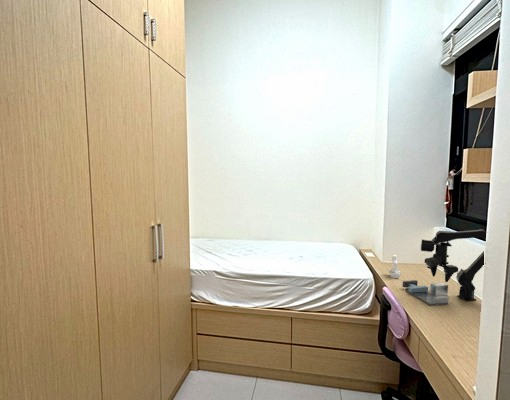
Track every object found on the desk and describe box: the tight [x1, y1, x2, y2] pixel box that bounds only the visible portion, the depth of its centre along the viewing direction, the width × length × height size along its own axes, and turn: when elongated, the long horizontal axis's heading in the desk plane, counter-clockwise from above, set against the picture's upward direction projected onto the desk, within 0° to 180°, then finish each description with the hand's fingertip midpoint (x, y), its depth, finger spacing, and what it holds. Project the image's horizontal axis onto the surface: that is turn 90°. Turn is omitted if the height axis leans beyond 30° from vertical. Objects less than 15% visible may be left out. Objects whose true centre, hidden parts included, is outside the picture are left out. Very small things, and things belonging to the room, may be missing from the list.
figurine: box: [387, 254, 402, 279], centre depth 195 cm, size 7×9×15 cm
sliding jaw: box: [402, 279, 429, 293], centre depth 172 cm, size 11×9×4 cm
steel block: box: [429, 282, 449, 296], centre depth 167 cm, size 8×4×6 cm, turn 100°
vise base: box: [405, 288, 450, 307], centre depth 163 cm, size 11×20×4 cm, turn 9°
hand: (439, 279), depth 167 cm, fingers open, 9 cm apart
